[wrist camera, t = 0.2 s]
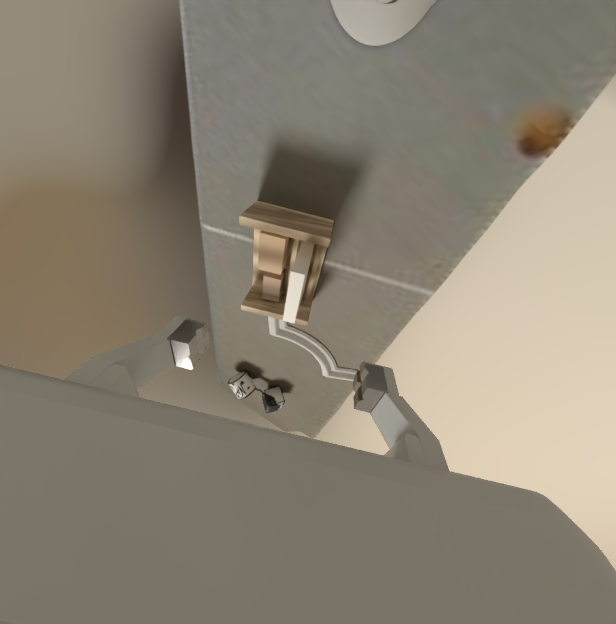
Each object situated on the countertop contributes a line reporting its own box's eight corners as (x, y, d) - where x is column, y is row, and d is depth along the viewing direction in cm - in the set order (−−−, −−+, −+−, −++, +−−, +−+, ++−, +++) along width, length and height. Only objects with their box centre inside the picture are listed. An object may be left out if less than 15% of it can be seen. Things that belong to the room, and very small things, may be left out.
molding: (363, 373, 78) (363, 380, 76) (336, 382, 85) (335, 389, 82) (276, 297, 61) (274, 303, 59) (251, 316, 67) (247, 322, 65)
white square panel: (303, 239, 47) (290, 271, 37) (314, 242, 47) (305, 274, 37) (294, 285, 55) (282, 320, 45) (304, 287, 55) (294, 323, 45)
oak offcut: (268, 221, 45) (259, 232, 41) (292, 227, 45) (285, 239, 41) (266, 256, 50) (257, 269, 46) (287, 261, 51) (281, 275, 46)
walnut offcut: (269, 264, 52) (263, 275, 48) (286, 268, 52) (281, 280, 48) (267, 286, 56) (262, 298, 52) (283, 290, 56) (278, 302, 53)
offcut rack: (257, 200, 44) (239, 215, 37) (334, 220, 44) (330, 239, 37) (254, 287, 59) (241, 309, 52) (312, 301, 59) (306, 326, 52)
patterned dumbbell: (230, 372, 91) (219, 395, 84) (240, 363, 85) (229, 386, 78) (280, 398, 99) (274, 420, 91) (292, 390, 93) (287, 414, 85)
